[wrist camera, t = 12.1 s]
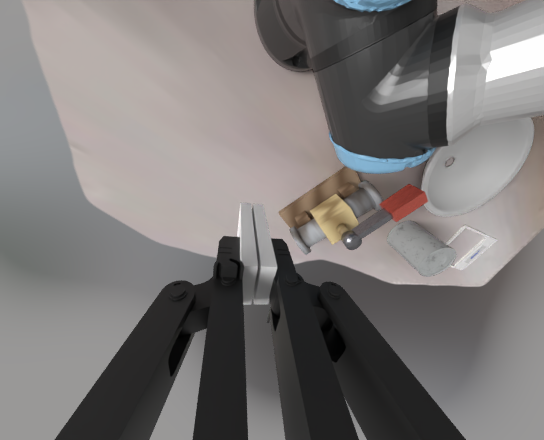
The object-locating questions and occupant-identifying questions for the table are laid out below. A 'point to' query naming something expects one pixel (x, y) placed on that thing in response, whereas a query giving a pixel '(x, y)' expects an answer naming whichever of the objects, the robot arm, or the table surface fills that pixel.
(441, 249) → the speckled concrete cylinder
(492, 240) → the photo frame
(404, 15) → the robot arm
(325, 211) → the valve stand
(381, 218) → the lever
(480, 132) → the sink basin
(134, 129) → the table surface
